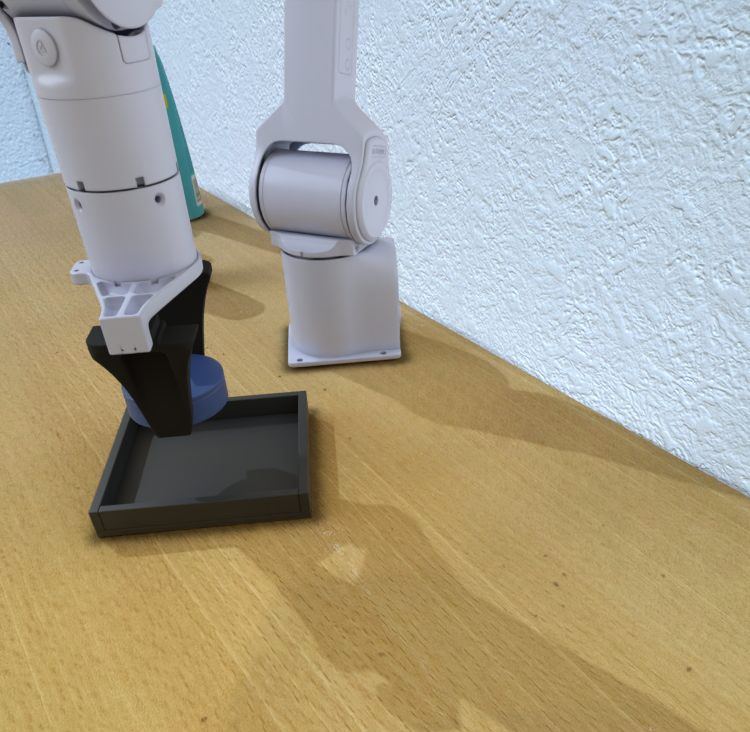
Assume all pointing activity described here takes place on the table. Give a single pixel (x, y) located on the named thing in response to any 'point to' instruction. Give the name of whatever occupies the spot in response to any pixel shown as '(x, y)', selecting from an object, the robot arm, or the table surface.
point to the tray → (209, 470)
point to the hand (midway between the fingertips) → (182, 404)
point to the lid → (195, 390)
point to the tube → (180, 148)
